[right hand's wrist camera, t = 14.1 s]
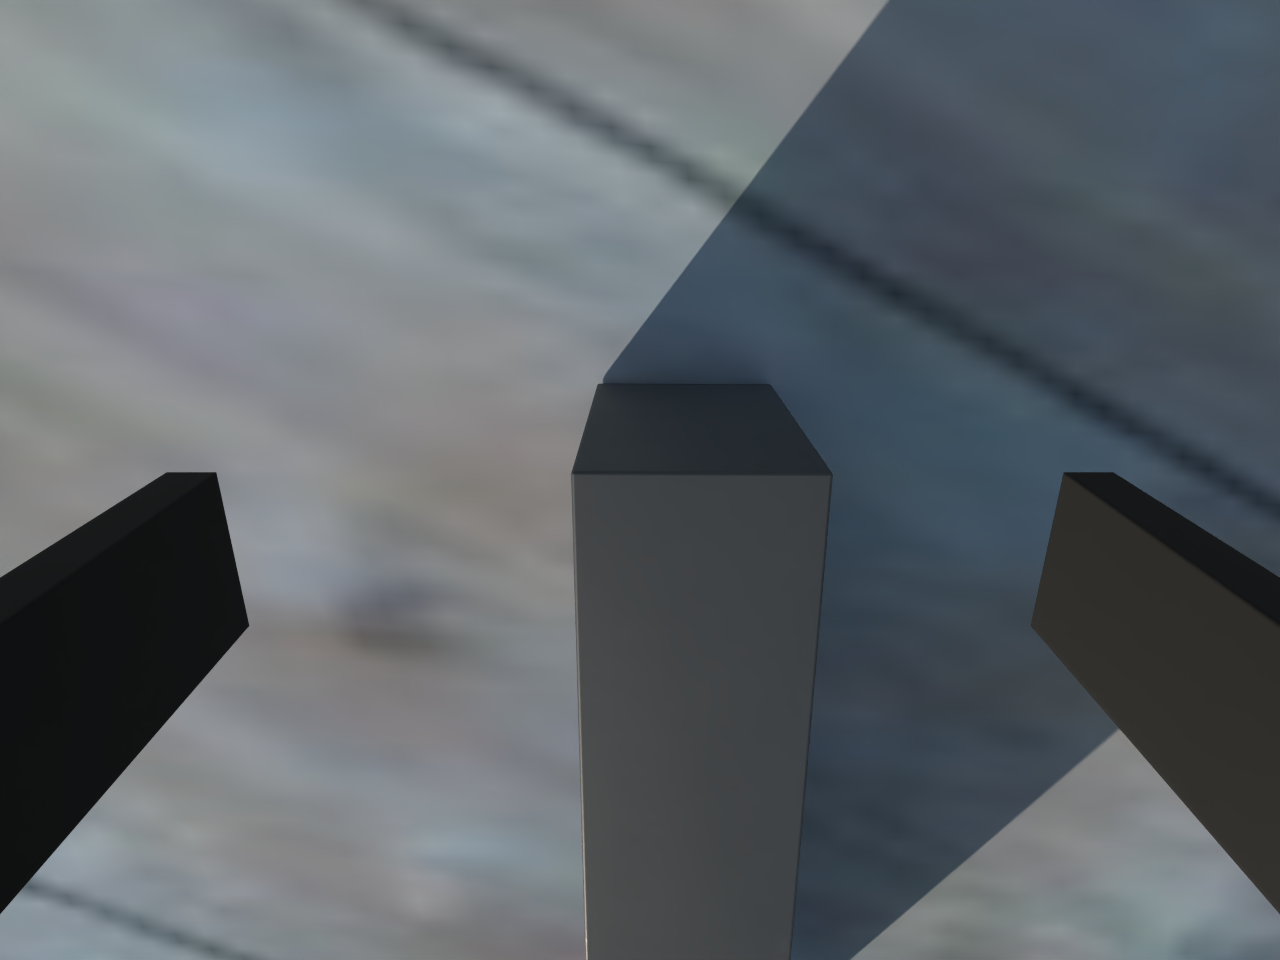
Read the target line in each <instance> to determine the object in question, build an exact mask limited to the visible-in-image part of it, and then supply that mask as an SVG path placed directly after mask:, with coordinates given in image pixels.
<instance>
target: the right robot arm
mask: <svg viewBox="0 0 1280 960" xmlns="http://www.w3.org/2000/svg"><path fill="white" fill-rule="evenodd" d="M248 627H249V623H248V618H247V613H246V609H245V604H244V599H243V595H242V590H241V585H240V581H239V576H238V571H237V567H236V562H235V558H234V553H233V548H232V544H231V539H230V534H229V530H228V525H227V520H226V516H225V511H224V506H223V502H222V497H221V492H220V488H219V483H218V478H217V474H216V472H167V473H165V474H163V475H162V476H160V477H159V478H157V479H156V480H154V481H152V482H151V483H149V484H148V485H146V486H145V487H143V488H141V489H140V490H138V491H137V492H135V493H133V494H132V495H130V496H129V497H127V498H126V499H124V500H122V501H121V502H119V503H118V504H116V505H114V506H113V507H111V508H110V509H108V510H107V511H105V512H103V513H102V514H100V515H99V516H97V517H95V518H94V519H92V520H91V521H89V522H88V523H86V524H84V525H83V526H81V527H80V528H78V529H77V530H75V531H73V532H72V533H70V534H69V535H67V536H65V537H64V538H62V539H61V540H59V541H58V542H56V543H54V544H53V545H51V546H50V547H48V548H46V549H45V550H43V551H42V552H40V553H39V554H37V555H35V556H34V557H32V558H31V559H29V560H27V561H26V562H24V563H23V564H21V565H20V566H18V567H16V568H15V569H13V570H12V571H10V572H9V573H7V574H5V575H4V576H2V577H1V578H0V914H1V913H2V911H3V910H4V909H5V908H6V907H7V906H8V904H9V903H10V902H11V901H12V900H13V899H14V897H15V896H16V895H17V894H18V893H19V892H20V891H21V889H22V888H23V887H24V886H25V885H26V884H27V882H28V881H29V880H30V879H31V878H32V877H33V875H34V874H35V873H36V872H37V871H38V870H39V869H40V867H41V866H42V865H43V864H44V863H45V862H46V860H47V859H48V858H49V857H50V856H51V855H52V853H53V852H54V851H55V850H56V849H57V848H58V847H59V845H60V844H61V843H62V842H63V841H64V840H65V838H66V837H67V836H68V835H69V834H70V833H71V831H72V830H73V829H74V828H75V827H76V826H77V825H78V823H79V822H80V821H81V820H82V819H83V818H84V816H85V815H86V814H87V813H88V812H89V811H90V809H91V808H92V807H93V806H94V805H95V804H96V803H97V801H98V800H99V799H100V798H101V797H102V796H103V794H104V793H105V792H106V791H107V790H108V789H109V787H110V786H111V785H112V784H113V783H114V782H115V781H116V779H117V778H118V777H119V776H120V775H121V774H122V772H123V771H124V770H125V769H126V768H127V767H128V765H129V764H130V763H131V762H132V761H133V760H134V759H135V757H136V756H137V755H138V754H139V753H140V752H141V750H142V749H143V748H144V747H145V746H146V745H147V743H148V742H149V741H150V740H151V739H152V738H153V737H154V735H155V734H156V733H157V732H158V731H159V730H160V728H161V727H162V726H163V725H164V724H165V723H166V721H167V720H168V719H169V718H170V717H171V716H172V715H173V713H174V712H175V711H176V710H177V709H178V708H179V706H180V705H181V704H182V703H183V702H184V701H185V699H186V698H187V697H188V696H189V695H190V694H191V693H192V691H193V690H194V689H195V688H196V687H197V686H198V684H199V683H200V682H201V681H202V680H203V679H204V677H205V676H206V675H207V674H208V673H209V672H210V671H211V669H212V668H213V667H214V666H215V665H216V664H217V662H218V661H219V660H220V659H221V658H222V657H223V655H224V654H225V653H226V652H227V651H228V650H229V649H230V647H231V646H232V645H233V644H234V643H235V642H236V640H237V639H238V638H239V637H240V636H241V635H242V633H243V632H244V631H245V630H246V629H247V628H248ZM1031 627H1032V628H1033V629H1034V630H1035V631H1036V632H1037V633H1038V635H1039V636H1040V637H1041V638H1042V639H1043V640H1044V642H1045V643H1046V644H1047V645H1048V646H1049V647H1050V649H1051V650H1052V651H1053V652H1054V653H1055V654H1056V655H1057V657H1058V658H1059V659H1060V660H1061V661H1062V662H1063V664H1064V665H1065V666H1066V667H1067V668H1068V669H1069V671H1070V672H1071V673H1072V674H1073V675H1074V676H1075V677H1076V679H1077V680H1078V681H1079V682H1080V683H1081V684H1082V686H1083V687H1084V688H1085V689H1086V690H1087V691H1088V693H1089V694H1090V695H1091V696H1092V697H1093V698H1094V699H1095V701H1096V702H1097V703H1098V704H1099V705H1100V706H1101V708H1102V709H1103V710H1104V711H1105V712H1106V713H1107V715H1108V716H1109V717H1110V718H1111V719H1112V720H1113V721H1114V723H1115V724H1116V725H1117V726H1118V727H1119V728H1120V730H1121V731H1122V732H1123V733H1124V734H1125V735H1126V737H1127V738H1128V739H1129V740H1130V741H1131V742H1132V743H1133V745H1134V746H1135V747H1136V748H1137V749H1138V750H1139V752H1140V753H1141V754H1142V755H1143V756H1144V757H1145V759H1146V760H1147V761H1148V762H1149V763H1150V764H1151V765H1152V767H1153V768H1154V769H1155V770H1156V771H1157V772H1158V774H1159V775H1160V776H1161V777H1162V778H1163V779H1164V781H1165V782H1166V783H1167V784H1168V785H1169V786H1170V787H1171V789H1172V790H1173V791H1174V792H1175V793H1176V794H1177V796H1178V797H1179V798H1180V799H1181V800H1182V801H1183V803H1184V804H1185V805H1186V806H1187V807H1188V808H1189V809H1190V811H1191V812H1192V813H1193V814H1194V815H1195V816H1196V818H1197V819H1198V820H1199V821H1200V822H1201V823H1202V825H1203V826H1204V827H1205V828H1206V829H1207V830H1208V831H1209V833H1210V834H1211V835H1212V836H1213V837H1214V838H1215V840H1216V841H1217V842H1218V843H1219V844H1220V845H1221V847H1222V848H1223V849H1224V850H1225V851H1226V852H1227V853H1228V855H1229V856H1230V857H1231V858H1232V859H1233V860H1234V862H1235V863H1236V864H1237V865H1238V866H1239V867H1240V869H1241V870H1242V871H1243V872H1244V873H1245V874H1246V875H1247V877H1248V878H1249V879H1250V880H1251V881H1252V882H1253V884H1254V885H1255V886H1256V887H1257V888H1258V889H1259V891H1260V892H1261V893H1262V894H1263V895H1264V896H1265V897H1266V899H1267V900H1268V901H1269V902H1270V903H1271V904H1272V906H1273V907H1274V908H1275V909H1276V910H1277V911H1278V913H1279V914H1280V578H1279V577H1278V576H1276V575H1275V574H1273V573H1271V572H1270V571H1268V570H1267V569H1265V568H1264V567H1262V566H1260V565H1259V564H1257V563H1256V562H1254V561H1253V560H1251V559H1249V558H1248V557H1246V556H1245V555H1243V554H1241V553H1240V552H1238V551H1237V550H1235V549H1234V548H1232V547H1230V546H1229V545H1227V544H1226V543H1224V542H1222V541H1221V540H1219V539H1218V538H1216V537H1215V536H1213V535H1211V534H1210V533H1208V532H1207V531H1205V530H1203V529H1202V528H1200V527H1199V526H1197V525H1196V524H1194V523H1192V522H1191V521H1189V520H1188V519H1186V518H1185V517H1183V516H1181V515H1180V514H1178V513H1177V512H1175V511H1173V510H1172V509H1170V508H1169V507H1167V506H1166V505H1164V504H1162V503H1161V502H1159V501H1158V500H1156V499H1154V498H1153V497H1151V496H1150V495H1148V494H1147V493H1145V492H1143V491H1142V490H1140V489H1139V488H1137V487H1135V486H1134V485H1132V484H1131V483H1129V482H1128V481H1126V480H1124V479H1123V478H1121V477H1120V476H1118V475H1117V474H1115V473H1113V472H1064V474H1063V478H1062V483H1061V488H1060V492H1059V497H1058V502H1057V506H1056V511H1055V516H1054V520H1053V525H1052V530H1051V534H1050V539H1049V544H1048V548H1047V553H1046V558H1045V562H1044V567H1043V571H1042V576H1041V581H1040V585H1039V590H1038V595H1037V599H1036V604H1035V609H1034V613H1033V618H1032V623H1031Z"/></svg>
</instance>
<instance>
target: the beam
mask: <svg viewBox="0 0 1280 960" xmlns="http://www.w3.org/2000/svg"><path fill="white" fill-rule="evenodd" d="M832 476H833V475H832V472H831V471H830V470H829V468H828V467H827V465H826V464H825V462H824V461H823V460H822V458H821V457H820V455H819V454H818V452H817V451H816V449H815V448H814V447H813V445H812V444H811V442H810V441H809V439H808V438H807V436H806V435H805V434H804V432H803V431H802V429H801V428H800V426H799V425H798V424H797V422H796V421H795V419H794V418H793V416H792V415H791V413H790V412H789V411H788V409H787V408H786V406H785V405H784V403H783V402H782V400H781V399H780V398H779V396H778V395H777V393H776V392H775V390H774V389H773V388H772V386H771V385H769V384H598V385H597V389H596V392H595V395H594V399H593V402H592V406H591V409H590V412H589V416H588V419H587V422H586V426H585V429H584V433H583V436H582V439H581V443H580V446H579V449H578V453H577V456H576V460H575V463H574V466H573V470H572V473H571V483H572V516H573V550H574V584H575V617H576V651H577V685H578V718H579V752H580V786H581V819H582V853H583V887H584V920H585V954H586V960H790V958H791V946H792V935H793V923H794V912H795V900H796V889H797V877H798V866H799V854H800V843H801V831H802V820H803V809H804V797H805V786H806V774H807V763H808V751H809V740H810V728H811V717H812V705H813V694H814V682H815V671H816V659H817V648H818V636H819V625H820V613H821V602H822V590H823V579H824V568H825V556H826V545H827V533H828V522H829V510H830V499H831V487H832Z"/></svg>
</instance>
